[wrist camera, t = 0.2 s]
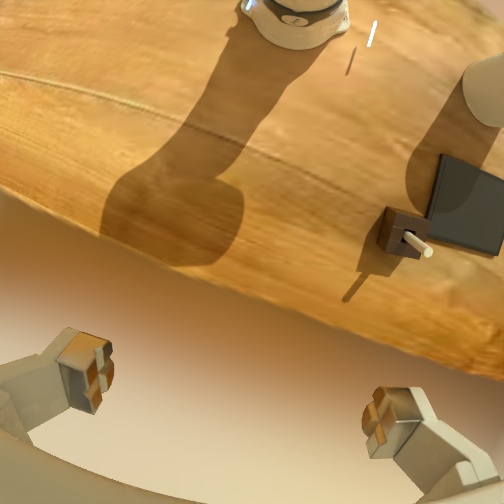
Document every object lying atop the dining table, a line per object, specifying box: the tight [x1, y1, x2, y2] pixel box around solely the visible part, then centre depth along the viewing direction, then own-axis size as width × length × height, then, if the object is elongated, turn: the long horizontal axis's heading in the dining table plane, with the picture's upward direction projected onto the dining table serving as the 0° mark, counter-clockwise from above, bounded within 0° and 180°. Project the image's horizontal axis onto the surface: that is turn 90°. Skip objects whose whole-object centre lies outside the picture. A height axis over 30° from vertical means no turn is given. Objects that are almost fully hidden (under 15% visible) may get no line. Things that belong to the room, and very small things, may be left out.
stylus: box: [402, 229, 433, 257], centre depth 49 cm, size 2×2×13 cm
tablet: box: [425, 154, 504, 256], centre depth 52 cm, size 16×22×1 cm
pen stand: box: [376, 206, 431, 260], centre depth 53 cm, size 7×7×5 cm
